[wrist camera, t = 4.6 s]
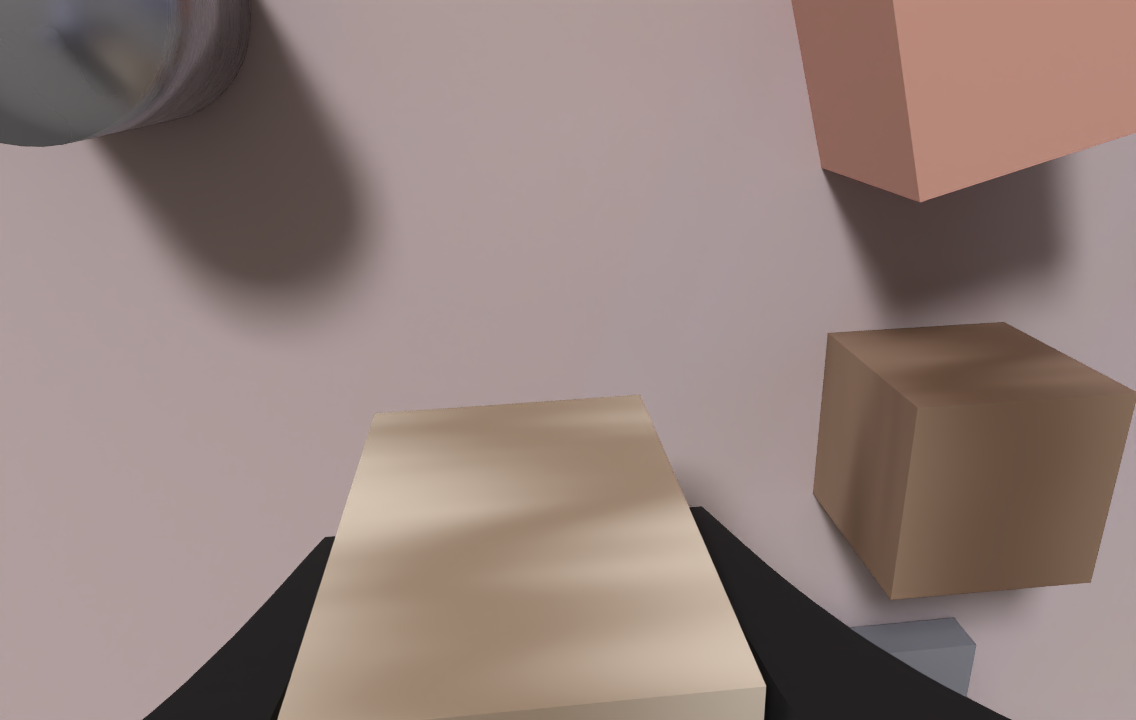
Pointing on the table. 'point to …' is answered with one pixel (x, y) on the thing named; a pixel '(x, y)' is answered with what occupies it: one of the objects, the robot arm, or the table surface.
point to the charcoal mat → (928, 648)
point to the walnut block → (967, 457)
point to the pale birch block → (521, 577)
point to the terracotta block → (963, 86)
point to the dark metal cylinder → (112, 64)
